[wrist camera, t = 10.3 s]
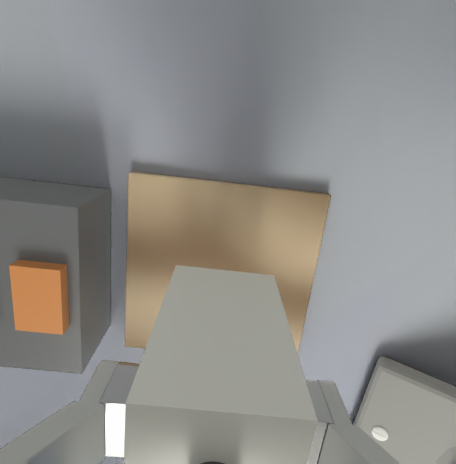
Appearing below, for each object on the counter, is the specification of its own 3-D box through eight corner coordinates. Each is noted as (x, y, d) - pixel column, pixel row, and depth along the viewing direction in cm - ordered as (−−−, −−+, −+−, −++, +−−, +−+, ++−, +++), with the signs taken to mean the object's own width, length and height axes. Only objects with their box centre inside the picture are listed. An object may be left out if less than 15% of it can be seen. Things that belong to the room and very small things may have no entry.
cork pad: (294, 356, 20) (295, 362, 20) (127, 341, 20) (124, 346, 19) (328, 193, 17) (331, 195, 17) (131, 171, 17) (128, 172, 16)
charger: (260, 356, 15) (299, 642, 7) (170, 347, 15) (97, 628, 7) (274, 275, 14) (342, 502, 5) (175, 264, 14) (96, 483, 5)
